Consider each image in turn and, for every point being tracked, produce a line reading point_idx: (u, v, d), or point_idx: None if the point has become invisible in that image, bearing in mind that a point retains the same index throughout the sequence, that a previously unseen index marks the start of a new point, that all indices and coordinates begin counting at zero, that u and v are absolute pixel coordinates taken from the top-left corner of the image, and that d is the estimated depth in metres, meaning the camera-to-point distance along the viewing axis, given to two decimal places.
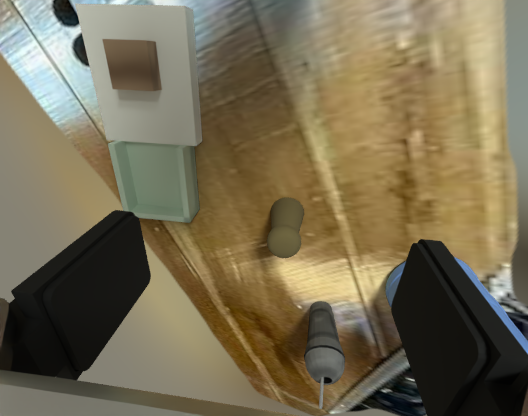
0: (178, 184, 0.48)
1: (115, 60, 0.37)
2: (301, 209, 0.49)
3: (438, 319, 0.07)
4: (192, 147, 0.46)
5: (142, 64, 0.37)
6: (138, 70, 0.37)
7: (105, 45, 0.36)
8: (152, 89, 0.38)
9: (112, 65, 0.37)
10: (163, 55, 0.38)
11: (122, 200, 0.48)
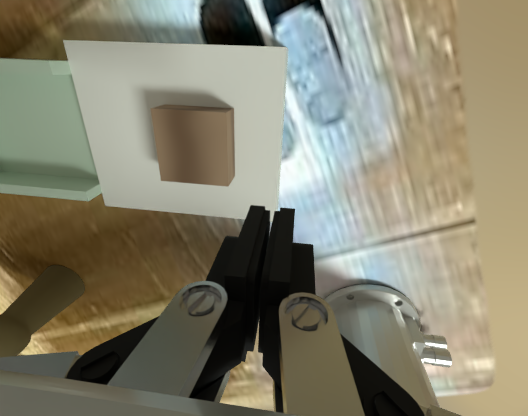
0: (37, 160, 0.29)
1: (196, 127, 0.22)
2: (72, 301, 0.40)
3: None
4: None
5: (196, 173, 0.23)
6: (186, 163, 0.23)
7: (217, 115, 0.21)
8: (163, 179, 0.24)
9: (188, 119, 0.21)
10: None
11: None
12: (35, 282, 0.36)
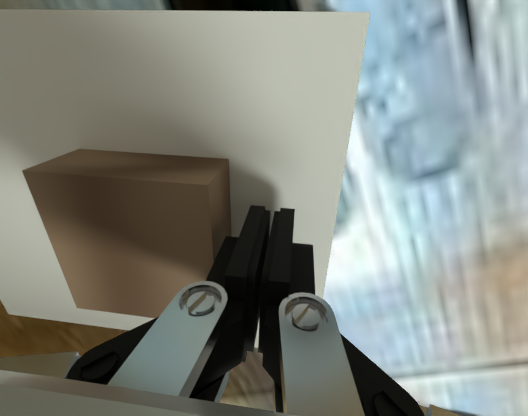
0: None
1: (137, 215, 0.09)
2: None
3: None
4: None
5: (147, 300, 0.11)
6: (124, 282, 0.10)
7: (184, 191, 0.08)
8: (81, 305, 0.11)
9: (115, 198, 0.09)
10: None
11: None
12: None
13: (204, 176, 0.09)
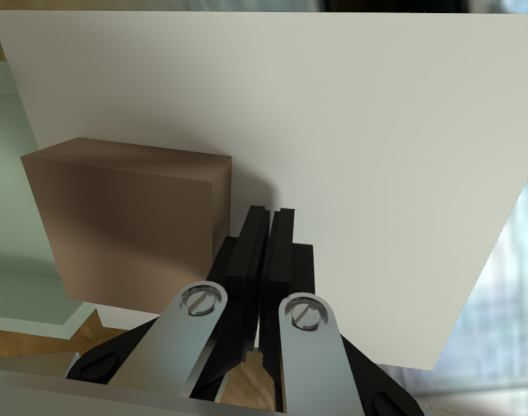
0: None
1: (137, 208, 0.09)
2: None
3: None
4: None
5: (142, 294, 0.11)
6: (120, 275, 0.10)
7: (188, 186, 0.08)
8: (72, 297, 0.11)
9: (116, 189, 0.09)
10: None
11: None
12: None
13: (208, 172, 0.09)
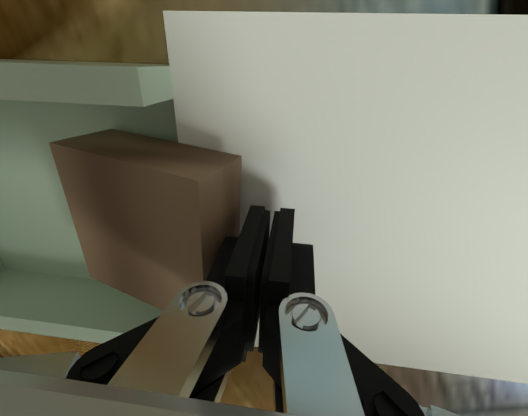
0: (71, 255, 0.15)
1: (135, 200, 0.09)
2: None
3: None
4: None
5: (144, 286, 0.11)
6: (126, 263, 0.11)
7: (176, 183, 0.08)
8: (93, 276, 0.12)
9: (117, 180, 0.09)
10: (461, 321, 0.12)
11: None
12: None
13: (202, 170, 0.08)
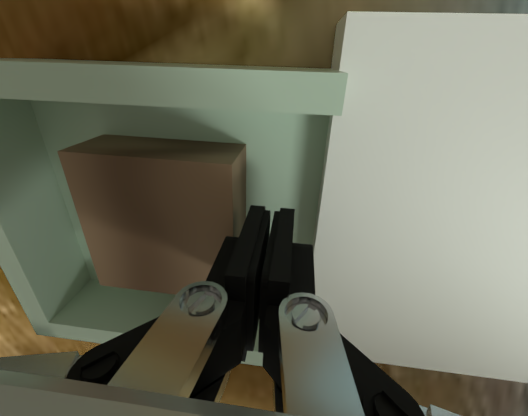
0: None
1: (163, 194, 0.10)
2: None
3: None
4: None
5: (168, 276, 0.11)
6: (148, 259, 0.11)
7: (209, 170, 0.09)
8: (104, 283, 0.12)
9: (144, 177, 0.09)
10: None
11: None
12: None
13: (226, 157, 0.09)
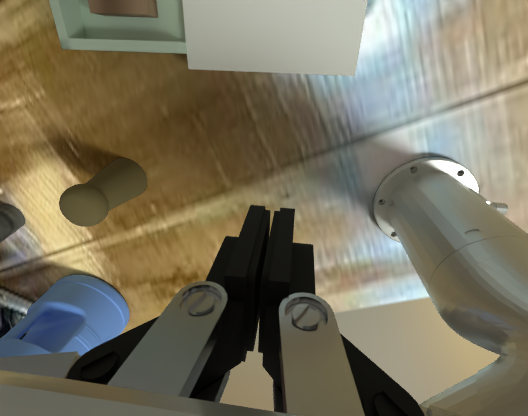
0: (123, 24, 0.30)
1: None
2: (135, 196, 0.42)
3: None
4: None
5: (118, 1, 0.27)
6: None
7: None
8: (92, 11, 0.28)
9: None
10: (303, 33, 0.28)
11: None
12: (105, 168, 0.38)
13: None
